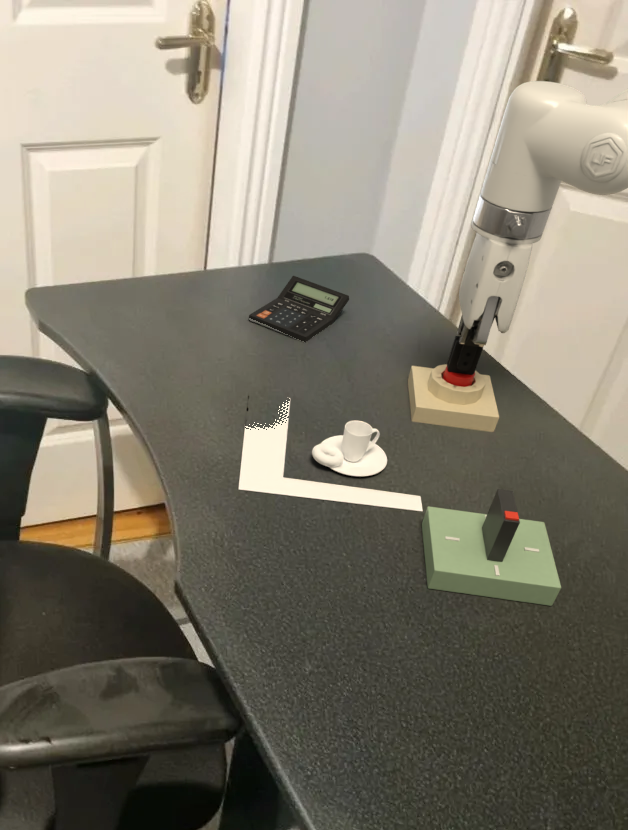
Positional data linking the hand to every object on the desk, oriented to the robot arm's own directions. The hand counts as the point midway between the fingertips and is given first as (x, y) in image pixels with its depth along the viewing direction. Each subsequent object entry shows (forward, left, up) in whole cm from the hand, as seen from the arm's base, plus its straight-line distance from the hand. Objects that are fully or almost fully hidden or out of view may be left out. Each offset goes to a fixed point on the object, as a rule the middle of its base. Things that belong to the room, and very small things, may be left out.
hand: (459, 370), depth 104 cm
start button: (0, 0, -2) cm, 2 cm away
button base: (0, 0, -5) cm, 5 cm away
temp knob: (-1, +30, -2) cm, 30 cm away
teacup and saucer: (+15, +13, -5) cm, 21 cm away
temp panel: (-1, +30, -5) cm, 31 cm away
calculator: (+20, -19, -5) cm, 28 cm away
